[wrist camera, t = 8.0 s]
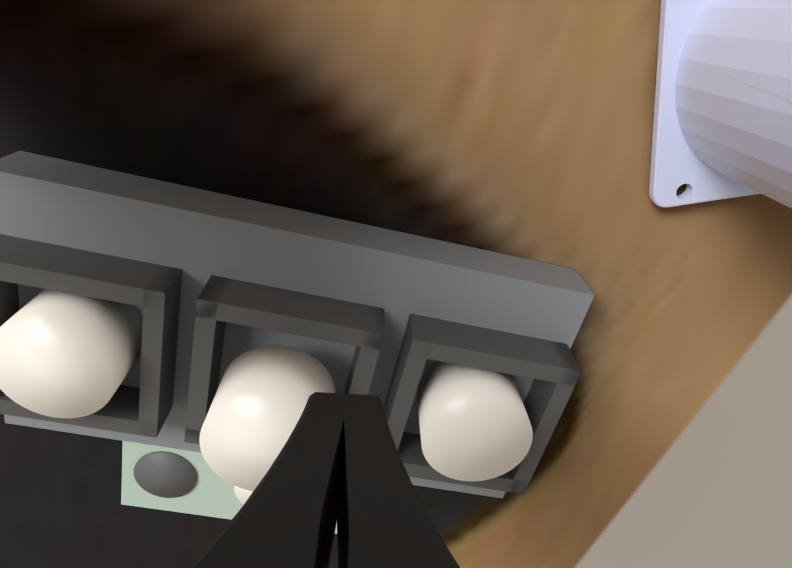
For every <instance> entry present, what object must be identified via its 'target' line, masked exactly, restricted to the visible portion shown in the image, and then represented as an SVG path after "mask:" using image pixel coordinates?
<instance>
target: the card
mask: <svg viewBox="0 0 792 568" xmlns="http://www.w3.org/2000/svg"><path fill="white" fill-rule="evenodd" d="M252 493H253V491H249V490H245V489H242V488H239V487H237V486H234V485H232V484H230V483H228V482H227V481H225V480H224V479H222V478H221V477H219V476H218V475H217V474H216V473H215V472H214V471H213V470H212V469H211V468H210V467H209V466H208V464H207V463H206V461H205V459H204V457H203V455H202V453H201V452H194V451H188V450H181V449H174V448H168V447H161V446H155V445H148V444H141V443H135V442H128V441H123V450H122V495H121V504H123V505H130V506H138V507H145V508H152V509H160V510H167V511H174V512H181V513H189V514H196V515H203V516H210V517H218V518H225V519H233V518H234V516H235V515H236V514H237V513H238V511H239V510H240V509H241V508H242V506H243V505H244V504H245V502H246V501H247V499H248V498H249V497H250V495H251V494H252ZM335 534H337V523H336V529H335Z"/></svg>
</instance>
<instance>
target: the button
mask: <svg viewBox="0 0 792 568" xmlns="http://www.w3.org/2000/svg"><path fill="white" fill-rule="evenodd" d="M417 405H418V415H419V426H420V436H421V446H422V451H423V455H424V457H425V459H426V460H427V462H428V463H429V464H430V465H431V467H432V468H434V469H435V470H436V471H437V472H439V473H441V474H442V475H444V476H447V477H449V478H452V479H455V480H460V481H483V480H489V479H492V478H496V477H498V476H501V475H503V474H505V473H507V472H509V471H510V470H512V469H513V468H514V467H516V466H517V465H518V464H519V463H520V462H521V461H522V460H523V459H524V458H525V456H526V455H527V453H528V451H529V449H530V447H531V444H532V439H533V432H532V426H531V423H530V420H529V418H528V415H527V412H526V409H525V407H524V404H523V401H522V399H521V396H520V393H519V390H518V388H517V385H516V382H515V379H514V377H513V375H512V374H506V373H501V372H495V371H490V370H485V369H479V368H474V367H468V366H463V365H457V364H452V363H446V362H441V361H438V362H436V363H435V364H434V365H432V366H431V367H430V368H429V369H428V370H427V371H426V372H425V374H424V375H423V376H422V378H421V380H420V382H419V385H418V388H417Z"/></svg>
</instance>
